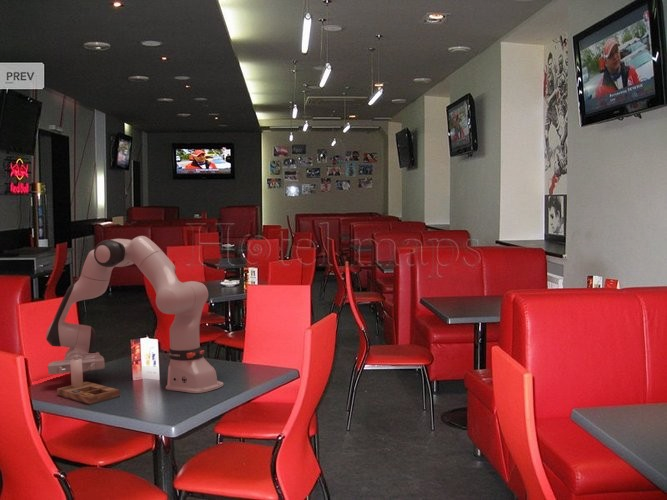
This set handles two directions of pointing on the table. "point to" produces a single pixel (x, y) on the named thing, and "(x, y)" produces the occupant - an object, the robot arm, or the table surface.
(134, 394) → the table surface
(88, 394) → the board
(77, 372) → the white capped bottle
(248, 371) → the table surface
